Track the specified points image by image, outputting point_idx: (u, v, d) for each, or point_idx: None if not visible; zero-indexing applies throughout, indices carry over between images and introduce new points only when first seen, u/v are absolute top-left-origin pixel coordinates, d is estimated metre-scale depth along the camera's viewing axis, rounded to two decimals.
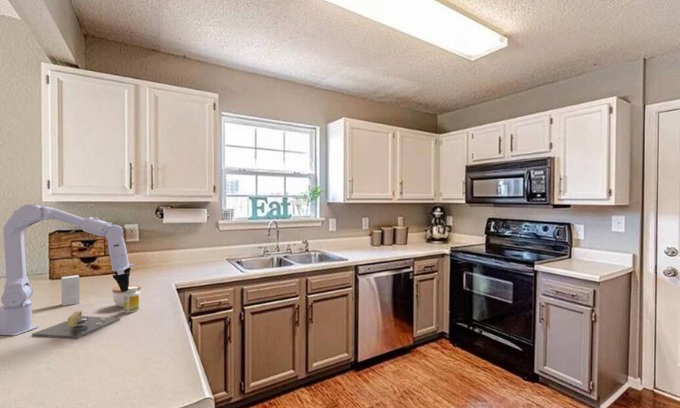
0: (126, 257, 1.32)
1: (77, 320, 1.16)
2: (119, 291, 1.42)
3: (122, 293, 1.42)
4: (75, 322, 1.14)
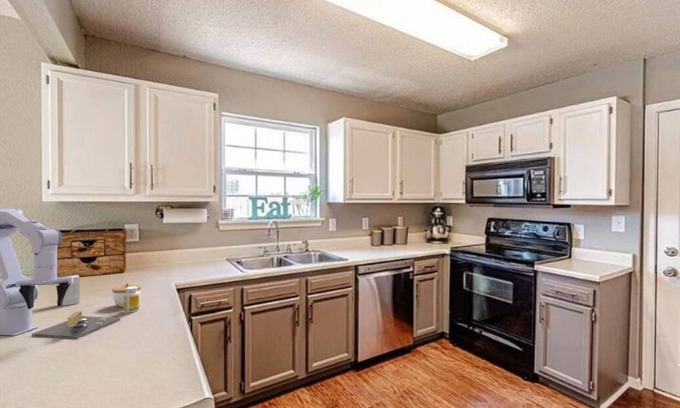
0: (37, 271, 1.09)
1: (77, 320, 1.16)
2: (119, 291, 1.42)
3: (122, 293, 1.42)
4: (75, 322, 1.14)
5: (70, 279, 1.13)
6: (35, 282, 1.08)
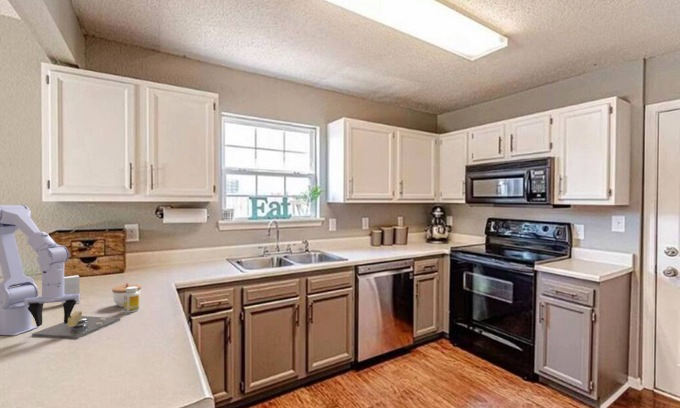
0: (45, 289, 1.09)
1: (77, 320, 1.16)
2: (119, 291, 1.42)
3: (122, 293, 1.42)
4: (75, 322, 1.14)
5: (77, 296, 1.14)
6: (43, 300, 1.09)
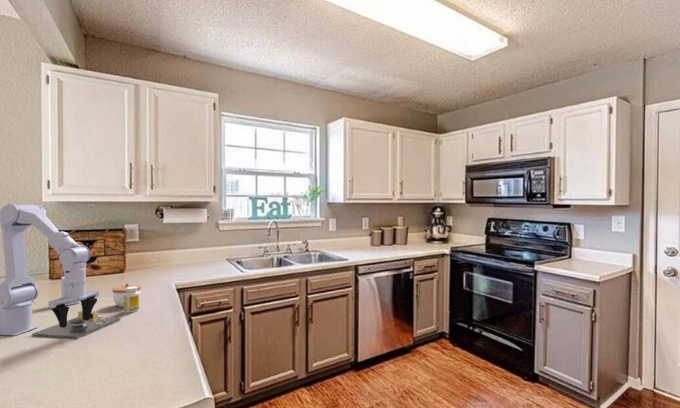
0: (75, 288, 1.11)
1: None
2: (119, 291, 1.42)
3: (122, 293, 1.42)
4: None
5: (98, 292, 1.19)
6: (74, 299, 1.10)
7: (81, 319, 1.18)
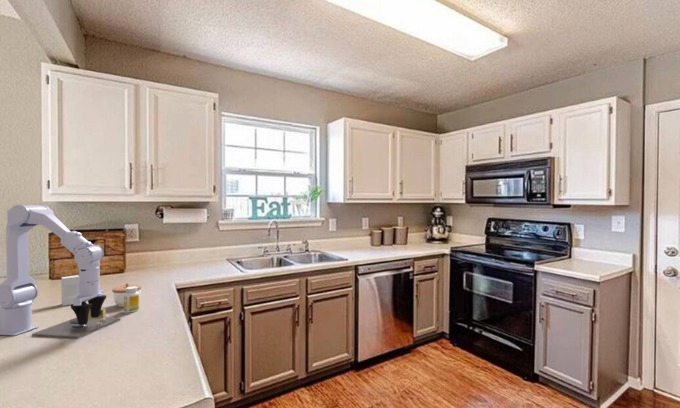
0: (95, 285, 1.15)
1: None
2: (119, 291, 1.42)
3: (122, 293, 1.42)
4: None
5: (103, 290, 1.23)
6: (94, 296, 1.14)
7: None
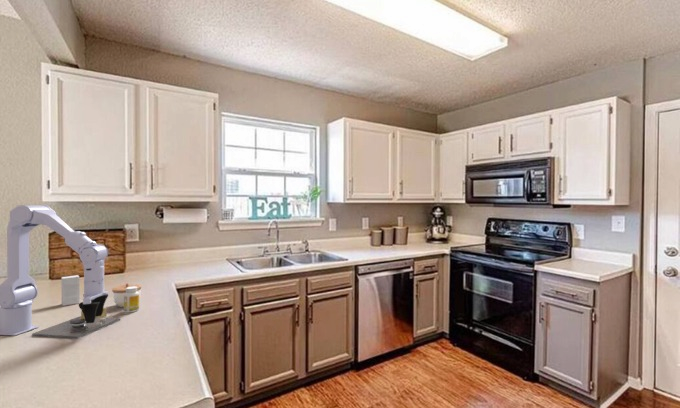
0: (101, 284, 1.17)
1: None
2: (119, 291, 1.42)
3: (122, 293, 1.42)
4: None
5: None
6: (101, 294, 1.16)
7: None
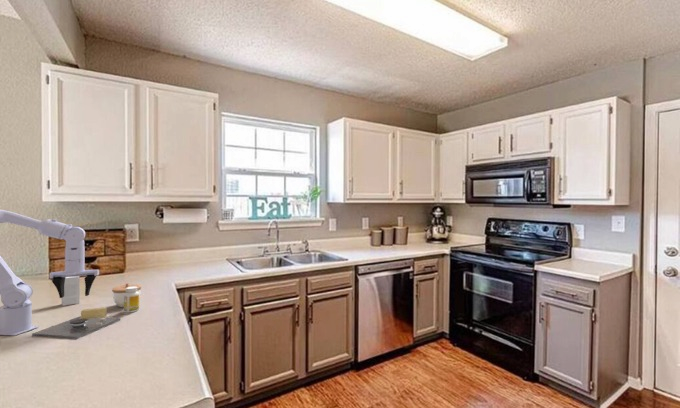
0: (67, 264, 1.22)
1: None
2: (119, 291, 1.42)
3: (122, 293, 1.42)
4: None
5: (96, 271, 1.26)
6: (66, 274, 1.22)
7: (86, 317, 1.20)
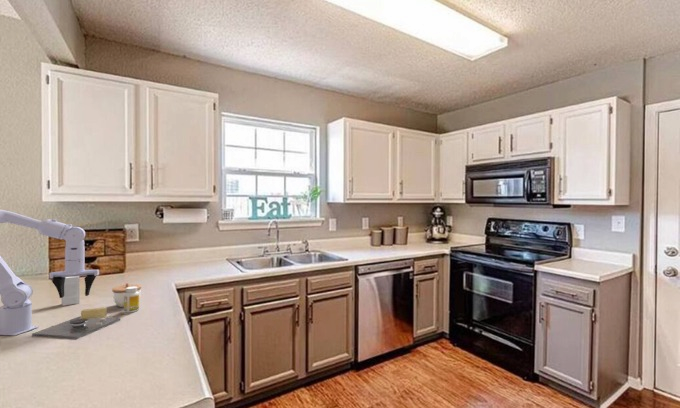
0: (67, 264, 1.22)
1: None
2: (119, 291, 1.42)
3: (122, 293, 1.42)
4: None
5: (96, 271, 1.26)
6: (66, 274, 1.22)
7: (86, 317, 1.20)
